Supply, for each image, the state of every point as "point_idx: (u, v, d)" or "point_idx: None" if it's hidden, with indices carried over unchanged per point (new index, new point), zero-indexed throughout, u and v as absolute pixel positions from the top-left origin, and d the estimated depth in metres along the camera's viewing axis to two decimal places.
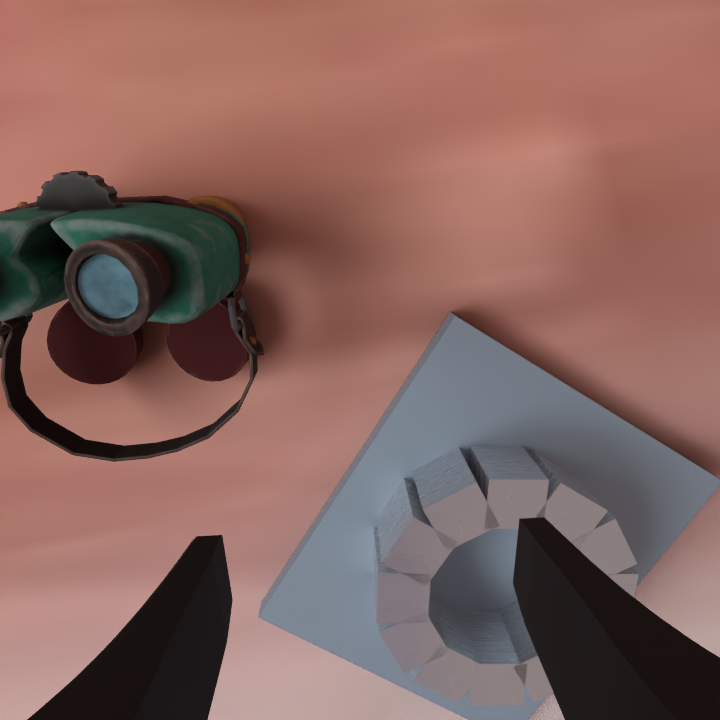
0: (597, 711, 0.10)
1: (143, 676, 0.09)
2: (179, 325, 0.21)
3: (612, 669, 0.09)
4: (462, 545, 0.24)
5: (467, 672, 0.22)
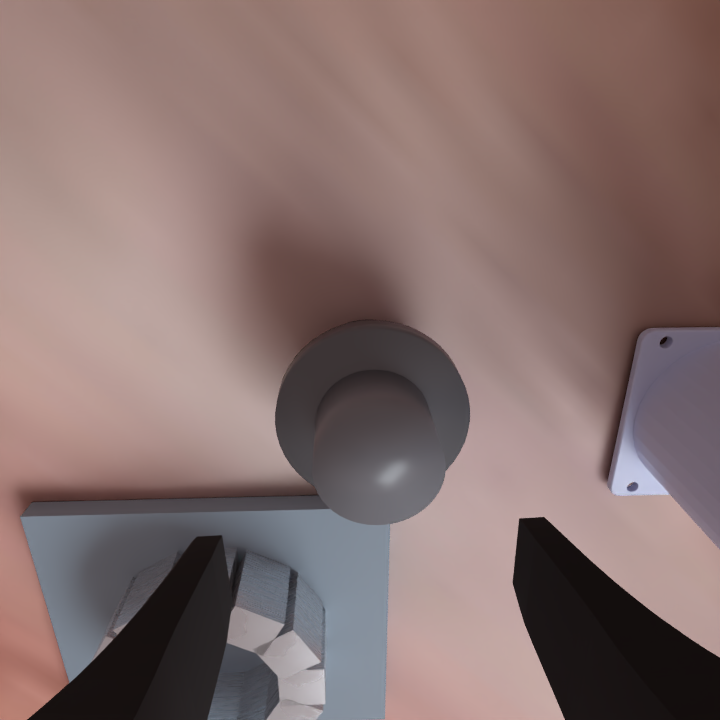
0: (597, 711, 0.10)
1: (143, 676, 0.09)
2: None
3: (612, 669, 0.09)
4: (231, 644, 0.27)
5: (291, 678, 0.24)
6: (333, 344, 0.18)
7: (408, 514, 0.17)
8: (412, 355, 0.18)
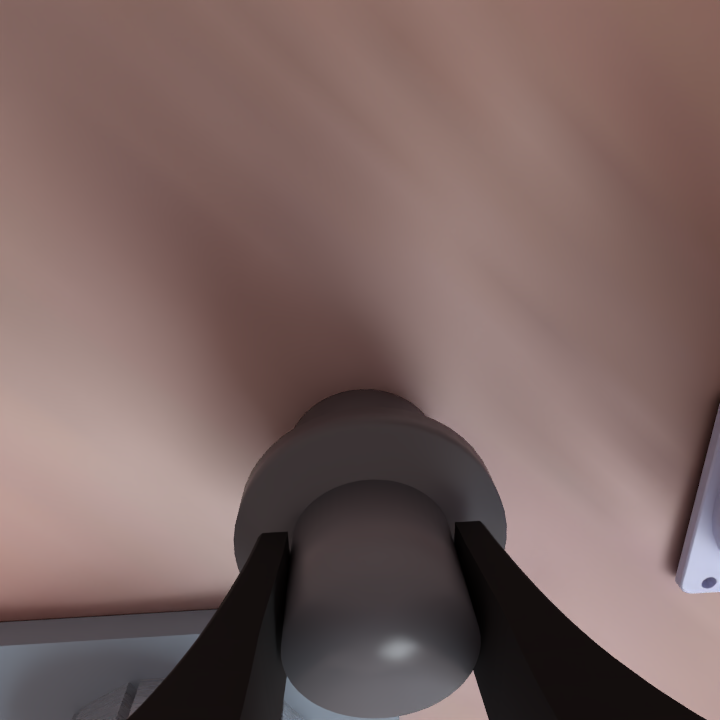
0: (511, 717, 0.10)
1: (239, 670, 0.09)
2: None
3: (520, 675, 0.09)
4: None
5: None
6: (310, 448, 0.13)
7: (426, 702, 0.12)
8: (424, 458, 0.13)
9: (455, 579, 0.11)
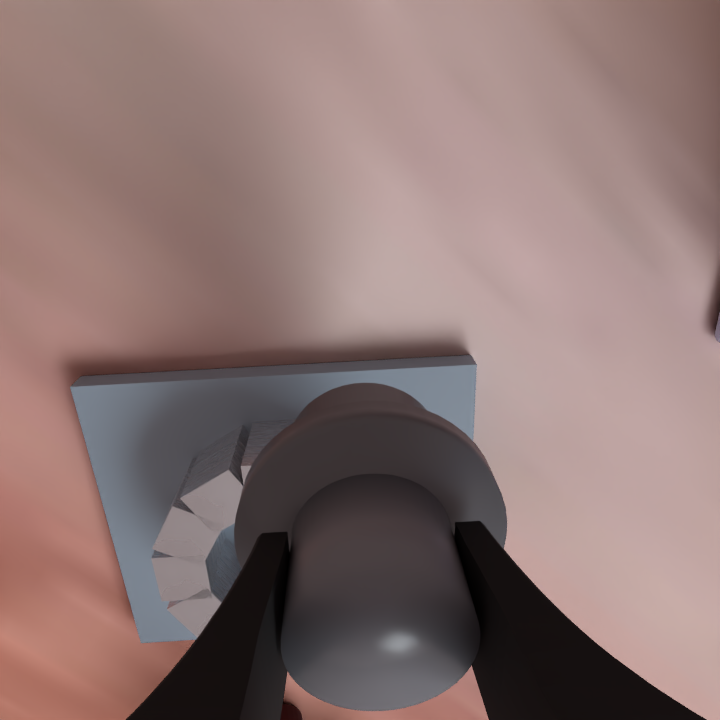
0: (511, 717, 0.10)
1: (239, 670, 0.09)
2: None
3: (520, 675, 0.09)
4: None
5: None
6: (313, 441, 0.13)
7: (424, 696, 0.12)
8: (426, 454, 0.13)
9: (456, 575, 0.11)
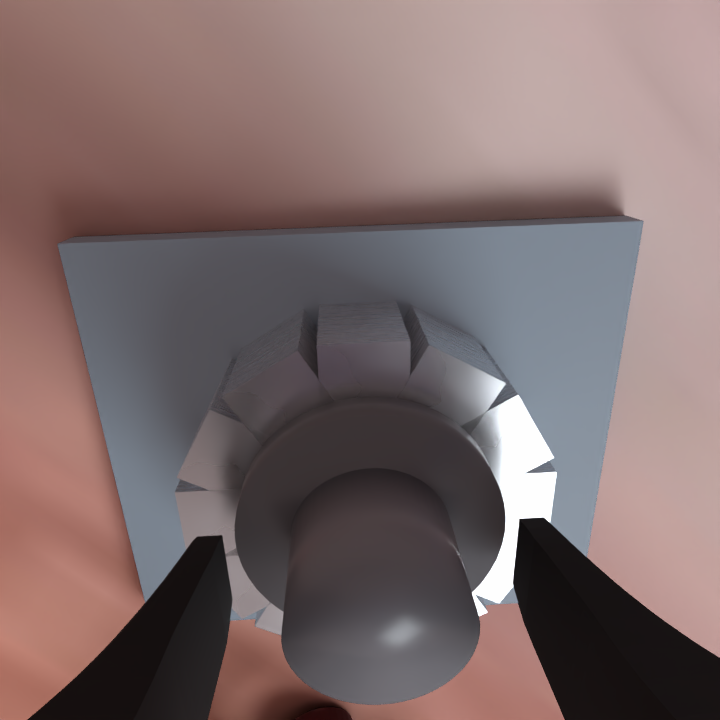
0: (597, 711, 0.10)
1: (143, 676, 0.09)
2: None
3: (612, 669, 0.09)
4: None
5: (502, 490, 0.15)
6: (314, 435, 0.13)
7: (423, 690, 0.12)
8: (426, 449, 0.13)
9: (456, 567, 0.11)
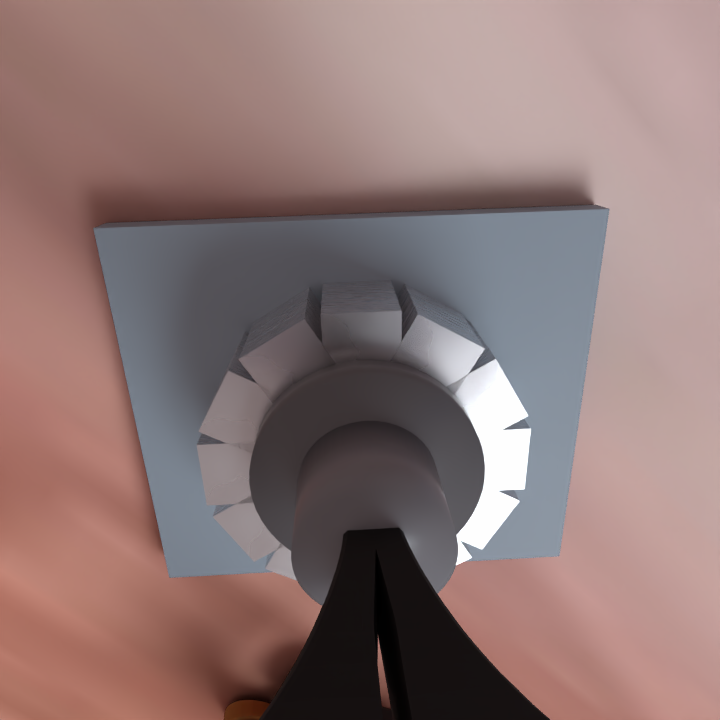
0: None
1: (364, 662, 0.09)
2: None
3: (402, 683, 0.09)
4: None
5: (483, 445, 0.17)
6: (319, 391, 0.15)
7: None
8: (415, 404, 0.15)
9: (438, 497, 0.13)
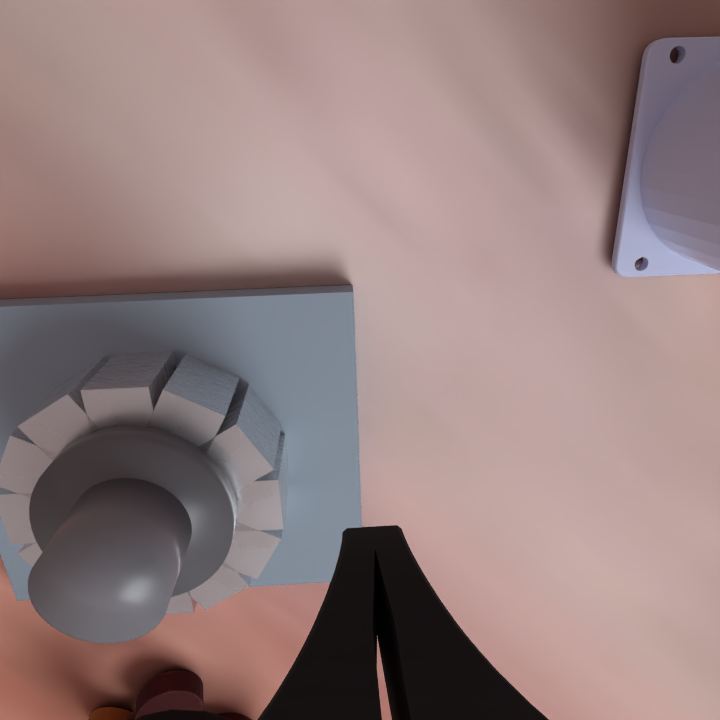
0: None
1: (363, 662, 0.09)
2: None
3: (400, 683, 0.09)
4: None
5: (240, 493, 0.20)
6: (76, 454, 0.18)
7: (140, 633, 0.17)
8: (160, 464, 0.18)
9: (151, 546, 0.16)
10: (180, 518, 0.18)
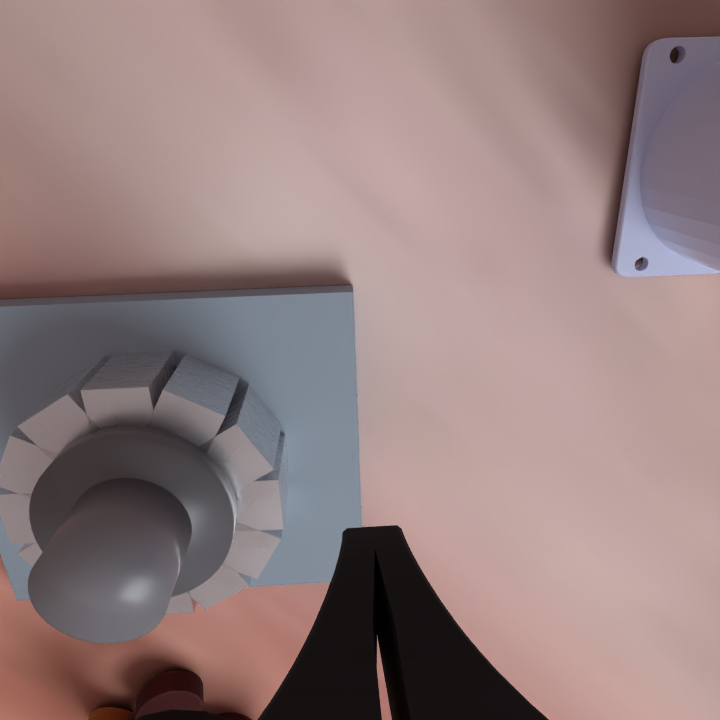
0: None
1: (363, 662, 0.09)
2: None
3: (400, 683, 0.09)
4: None
5: (240, 493, 0.20)
6: (76, 454, 0.18)
7: (140, 633, 0.17)
8: (160, 464, 0.18)
9: (151, 546, 0.16)
10: (180, 518, 0.18)
